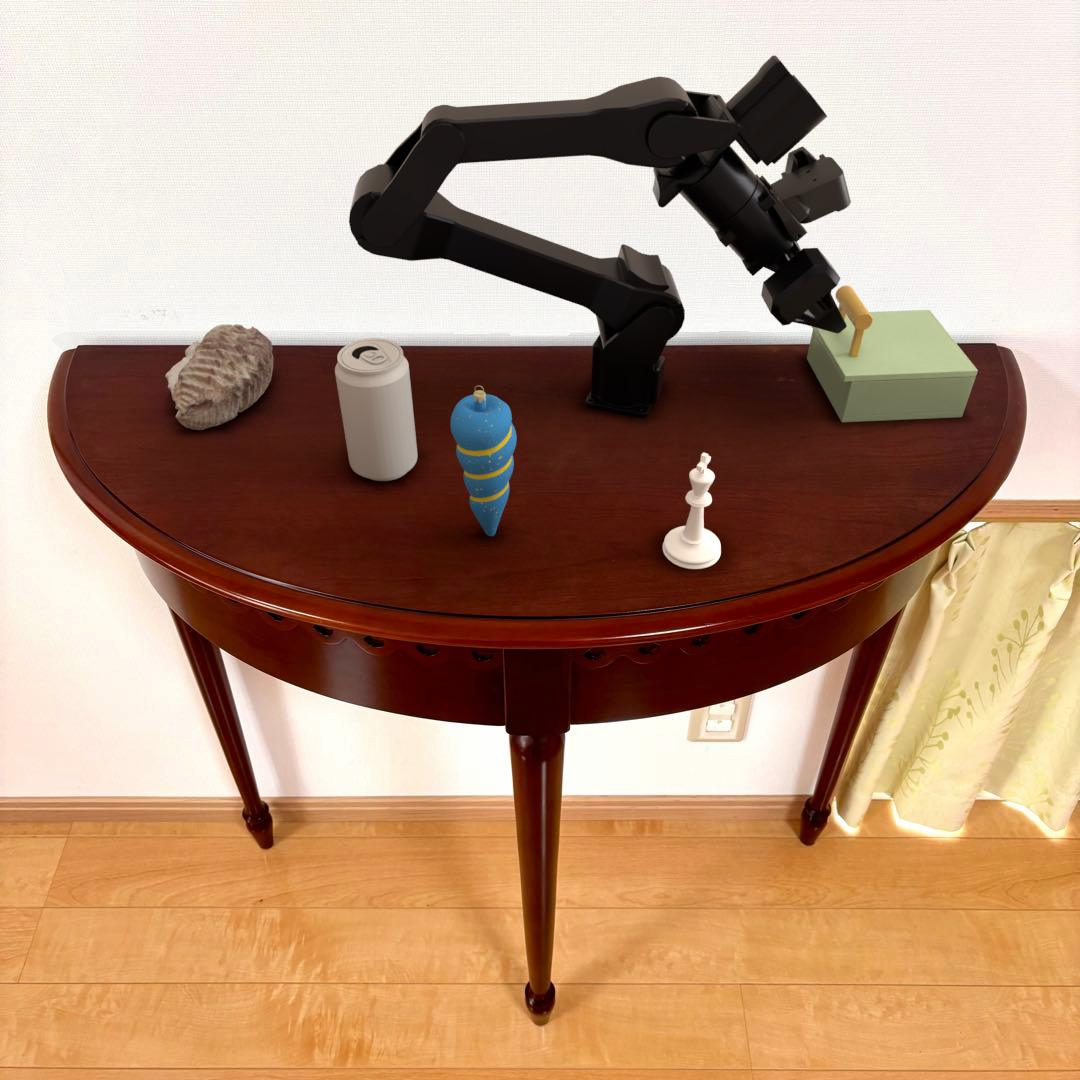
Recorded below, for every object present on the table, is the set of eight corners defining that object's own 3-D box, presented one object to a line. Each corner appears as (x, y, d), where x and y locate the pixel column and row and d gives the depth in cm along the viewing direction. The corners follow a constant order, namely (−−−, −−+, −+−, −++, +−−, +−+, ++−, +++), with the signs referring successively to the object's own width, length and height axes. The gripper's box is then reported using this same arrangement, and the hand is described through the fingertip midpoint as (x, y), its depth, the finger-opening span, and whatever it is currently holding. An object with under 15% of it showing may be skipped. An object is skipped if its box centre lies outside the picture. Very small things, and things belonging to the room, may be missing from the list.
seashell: (189, 333, 104) (213, 269, 96) (271, 373, 107) (301, 314, 100) (139, 429, 95) (161, 366, 87) (230, 468, 98) (259, 411, 91)
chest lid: (843, 382, 93) (856, 331, 89) (807, 319, 102) (817, 271, 98) (976, 376, 93) (993, 326, 90) (927, 315, 103) (942, 267, 99)
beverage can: (390, 437, 94) (376, 327, 86) (432, 465, 90) (422, 353, 83) (336, 464, 91) (317, 353, 83) (378, 495, 87) (362, 381, 79)
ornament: (510, 558, 81) (506, 408, 71) (451, 550, 81) (439, 401, 72) (523, 519, 85) (521, 372, 75) (467, 512, 85) (457, 365, 75)
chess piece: (730, 543, 82) (746, 448, 76) (705, 577, 79) (720, 481, 72) (678, 524, 84) (690, 429, 78) (652, 555, 81) (662, 460, 74)
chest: (841, 422, 96) (851, 382, 93) (806, 358, 105) (814, 320, 102) (962, 417, 97) (975, 377, 94) (916, 354, 106) (927, 315, 103)
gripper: (838, 172, 76) (936, 295, 84) (776, 98, 90) (865, 209, 98) (727, 269, 81) (830, 376, 89) (685, 184, 95) (777, 284, 102)
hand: (827, 306), depth 94 cm, fingers open, 9 cm apart
